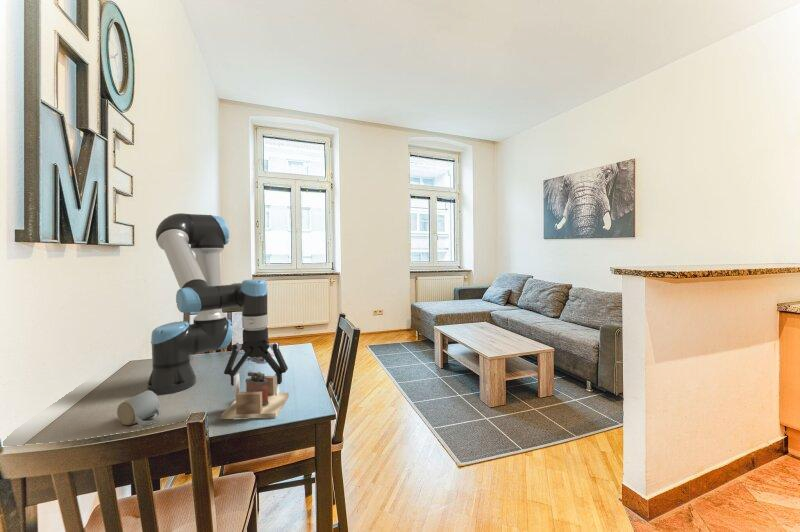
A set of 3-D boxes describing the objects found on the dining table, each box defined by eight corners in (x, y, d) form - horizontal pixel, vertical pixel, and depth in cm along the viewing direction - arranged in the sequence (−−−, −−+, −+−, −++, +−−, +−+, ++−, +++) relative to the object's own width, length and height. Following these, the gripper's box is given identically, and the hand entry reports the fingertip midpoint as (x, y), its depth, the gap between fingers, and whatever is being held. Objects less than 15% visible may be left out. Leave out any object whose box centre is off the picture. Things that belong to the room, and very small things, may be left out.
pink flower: (245, 362, 160) (267, 362, 153) (244, 349, 160) (265, 348, 153) (257, 358, 166) (278, 358, 158) (255, 346, 166) (277, 345, 158)
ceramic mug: (115, 424, 100) (114, 399, 100) (143, 412, 108) (142, 388, 108) (141, 431, 97) (140, 404, 97) (168, 417, 105) (168, 393, 105)
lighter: (270, 402, 111) (270, 371, 111) (263, 406, 108) (263, 375, 108) (251, 399, 114) (250, 369, 113) (243, 403, 111) (242, 372, 110)
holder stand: (221, 419, 103) (220, 395, 103) (241, 398, 118) (240, 376, 118) (275, 418, 104) (275, 393, 104) (288, 396, 119) (288, 375, 119)
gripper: (210, 331, 105) (212, 400, 106) (290, 329, 107) (292, 398, 108) (221, 325, 113) (223, 390, 114) (296, 324, 114) (297, 388, 115)
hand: (257, 394), depth 111 cm, fingers open, 12 cm apart
